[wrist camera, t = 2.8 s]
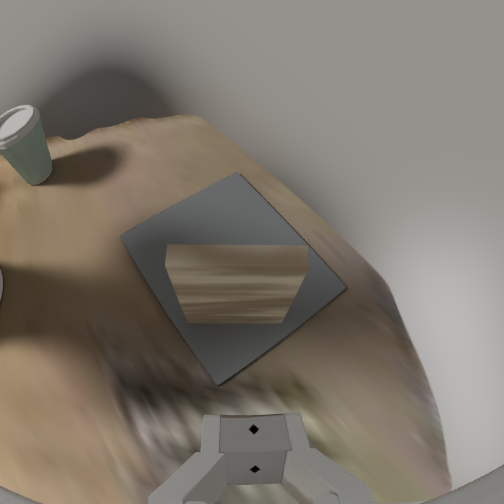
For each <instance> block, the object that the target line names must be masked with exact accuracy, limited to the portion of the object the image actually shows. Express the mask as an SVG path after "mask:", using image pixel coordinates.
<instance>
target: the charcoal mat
mask: <svg viewBox="0 0 504 504" xmlns="http://www.w3.org/2000/svg"><path fill="white" fill-rule="evenodd" d="M120 238H121V239H122V241H123V243H124V245H125V246H126V248H127V250H128V252H129V253H130V255H131V257H132V258H133V260H134V262H135V264H136V265H137V267H138V269H139V270H140V272H141V274H142V275H143V277H144V278H145V280H146V282H147V283H148V285H149V287H150V288H151V290H152V291H153V293H154V295H155V296H156V298H157V299H158V301H159V302H160V304H161V305H162V307H163V309H164V310H165V312H166V313H167V315H168V316H169V318H170V319H171V321H172V322H173V324H174V325H175V327H176V328H177V330H178V331H179V333H180V334H181V336H182V337H183V338H184V340H185V341H186V343H187V344H188V346H189V347H190V349H191V350H192V351H193V353H194V354H195V356H196V357H197V358H198V360H199V361H200V363H201V364H202V365H203V367H204V368H205V369H206V371H207V372H208V373H209V375H210V376H211V378H212V379H213V380H214V382H215V383H216V384H217V386H218V385H220V384H221V383H223V382H224V381H226V380H227V379H229V378H230V377H231V376H233V375H234V374H236V373H237V372H239V371H240V370H241V369H243V368H244V367H246V366H247V365H248V364H250V363H251V362H253V361H254V360H255V359H257V358H258V357H259V356H261V355H262V354H263V353H265V352H266V351H268V350H269V349H270V348H272V347H273V346H274V345H276V344H277V343H278V342H280V341H281V340H282V339H284V338H285V337H286V336H287V335H289V334H290V333H291V332H293V331H294V330H295V329H297V328H298V327H299V326H300V325H302V324H303V323H304V322H305V321H307V320H308V319H309V318H310V317H312V316H313V315H314V314H315V313H317V312H318V311H319V310H320V309H322V308H323V307H324V306H325V305H327V304H328V303H329V302H330V301H331V300H333V299H334V298H335V297H336V296H338V295H339V294H340V293H341V292H342V291H343V290H345V289H346V288H347V287H346V286H345V284H344V283H343V282H342V281H341V280H340V279H339V278H338V277H337V276H336V275H335V273H334V272H333V271H332V270H331V269H330V268H329V267H328V266H327V265H326V264H325V263H324V261H323V260H322V259H321V258H320V257H319V256H318V255H317V254H316V253H315V252H314V251H313V250H312V249H311V247H310V246H309V245H308V244H307V243H306V242H305V241H304V240H303V239H302V238H301V237H300V236H299V235H298V234H297V233H296V232H295V231H294V229H293V228H292V227H291V226H290V225H289V224H288V223H287V222H286V221H285V220H284V219H283V218H282V217H281V216H280V215H279V214H278V213H277V212H276V211H275V210H274V209H273V208H272V207H271V206H270V205H269V203H268V202H267V201H266V200H265V199H264V198H263V197H262V196H261V195H260V194H259V193H258V192H257V191H256V190H255V189H254V188H253V187H252V186H251V185H250V184H249V183H248V182H247V181H246V180H245V179H244V178H243V177H242V176H241V175H240V174H239V173H238V172H236V173H234V174H232V175H230V176H228V177H226V178H224V179H222V180H220V181H218V182H216V183H214V184H212V185H210V186H208V187H207V188H205V189H203V190H201V191H199V192H197V193H195V194H193V195H191V196H189V197H188V198H186V199H184V200H182V201H180V202H178V203H177V204H175V205H173V206H171V207H169V208H167V209H166V210H164V211H162V212H160V213H158V214H157V215H155V216H153V217H151V218H150V219H148V220H146V221H144V222H143V223H141V224H139V225H137V226H136V227H134V228H132V229H130V230H129V231H127V232H125V233H124V234H122V235H120ZM167 244H192V245H288V246H307V248H308V256H309V264H310V267H309V269H308V271H307V273H306V275H305V277H304V279H303V282H302V284H301V286H300V288H299V290H298V292H297V294H296V296H295V298H294V300H293V302H292V304H291V306H290V308H289V310H288V312H287V314H286V316H285V318H284V320H283V322H282V323H275V324H206V323H187V320H186V318H185V315H184V313H183V311H182V308H181V306H180V303H179V301H178V298H177V296H176V293H175V290H174V288H173V285H172V283H171V280H170V277H169V275H168V272H167V270H166V267H165V260H166V251H167Z"/></svg>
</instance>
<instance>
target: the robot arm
mask: <svg viewBox="0 0 504 504" xmlns="http://www.w3.org/2000/svg"><path fill="white" fill-rule="evenodd" d="M2 290H3V278H2V273H1V270H0V301H1V297H2ZM279 483H281V485H282V486H283V487H284V488H285V489H286V490H287V491H288V492H289V493H290V494H291V495H292V496H293V497H294V498H295V499H296V500H297V501H298V502H299V503H300V504H375V501H374V499H373V496H372V494H371V491H370V489H369V486H368V485H367V484H365V483H364V482H362V481H361V480H359V479H358V478H356V477H355V476H353V475H352V474H350V473H349V472H347V471H346V470H344V469H343V468H342V467H340V466H339V465H337V464H336V463H335V462H333V461H332V460H330V459H329V458H328V457H326V456H325V455H324V454H322V453H321V452H319V451H318V450H317V449H315V448H311V449H310V446H309V442H308V439H307V435H306V431H305V428H304V424H303V421H302V417H301V414H300V413H299V412H298V413H285V414H270V415H221V416H220V415H204V417H203V427H202V439H201V452H195V453H194V454H193V455H192V456H191V457H190V458H189V459H188V460H187V461H186V462H185V463H184V464H183V465H182V466H181V467H180V468H179V469H178V470H177V471H176V472H175V473H174V474H172V475H171V476H170V477H169V478H168V479H167V480H166V481H165V482H164V483H163V484H162V485H161V486H159V487H158V488H157V489H156V490H155V491H154V492H153V493H152V494H150V495H149V500H148V504H215V502H216V501H217V500H218V498H219V497H220V496H221V494H222V493H223V492H224V490H225V489H226V487H227V485H252V484H279ZM0 504H42V503H39V502H37V501H34V500H32V499H29V498H27V497H24V496H22V495H19V494H17V493H15V492H13V491H10V490H8V489H6V488H4V487H2V486H0ZM421 504H504V465H502V466H500V467H499V468H497V469H495V470H493V471H492V472H490V473H488V474H486V475H484V476H482V477H480V478H478V479H476V480H474V481H472V482H471V483H468V484H466V485H464V486H462V487H460V488H458V489H455V490H453V491H451V492H449V493H446V494H444V495H441V496H439V497H437V498H434V499H432V500H429V501H426V502H424V503H421Z"/></svg>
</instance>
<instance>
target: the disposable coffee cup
mask: <svg viewBox="0 0 504 504" xmlns="http://www.w3.org/2000/svg"><path fill="white" fill-rule="evenodd" d="M0 153H1V154H2V155H3V156H4V158H5V159H6V160H7V161H8V162H9V163H10V164H11V165H12V167H13V168H14V169H15V170H16V171H17V172H18V173H19V174H20V175H21V176H22V178H23V179H24V180H25V181H26V182H27V183H28V184H31V185H38V184H40V183H42V182H44V181H45V180H46V179H47V178H48V177H49V176H50V174H51V172H52V160H51V156H50V153H49V150H48V146H47V143H46V139H45V136H44V132H43V129H42V125H41V121H40V117H39V112H38V110H37V109H36V108H34V107H33V106H30V105H23V106H18V107H15V108H13V109H11V110H8V111H7V112H6V113H4V114H3V115H2V116H0Z"/></svg>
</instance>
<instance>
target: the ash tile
mask: <svg viewBox="0 0 504 504" xmlns="http://www.w3.org/2000/svg"><path fill="white" fill-rule="evenodd" d="M165 267H166V270H167V272H168V275H169V277H170V280H171V283H172V285H173V288H174V290H175V293H176V296H177V298H178V301H179V303H180V306H181V308H182V311H183V313H184V315H185V318H186V320H187V323H206V324H275V323H282V322H283V320H284V318H285V316H286V314H287V312H288V310H289V308H290V306H291V304H292V302H293V300H294V298H295V296H296V294H297V292H298V290H299V288H300V286H301V284H302V282H303V279H304V277H305V275H306V273H307V271H308V269H309V267H310V264H309V256H308V248H307V246H288V245H192V244H167V251H166V260H165Z"/></svg>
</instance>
